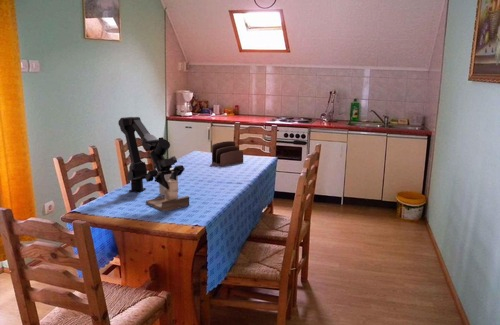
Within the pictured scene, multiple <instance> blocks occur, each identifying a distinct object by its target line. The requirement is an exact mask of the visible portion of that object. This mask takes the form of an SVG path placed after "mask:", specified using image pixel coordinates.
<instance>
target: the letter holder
mask: <svg viewBox="0 0 500 325" xmlns="http://www.w3.org/2000/svg"><path fill="white" fill-rule="evenodd" d="M240 163H244V151H243V150H240V147H239V146H237V145H236V142H235V141H232V140H228V141H221V142H216V143H214V144H212V145H211V164H212V165H216V166H220V167H224V166H229V165H233V164H240Z"/></svg>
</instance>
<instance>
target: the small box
mask: <svg viewBox="0 0 500 325" xmlns="http://www.w3.org/2000/svg"><path fill="white" fill-rule="evenodd" d="M172 169H174V167H172V168H170V170H172ZM164 178H165V180H167V179H169V178H170V175H169V174H167V175H164ZM158 184H159V183H158ZM177 185H178V186H179V177H178V176H177ZM158 189H159V195H161V196H165V188H164V186H162V185H161V184H159V185H158Z"/></svg>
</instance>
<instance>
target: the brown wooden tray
mask: <svg viewBox="0 0 500 325" xmlns="http://www.w3.org/2000/svg"><path fill="white" fill-rule="evenodd" d="M145 202H146V204H148V205H149V206H150V207H153V208H155V209H157V210H160V211H161V212H164V213H165V212H168V211H172V210H176V209H181V208H183V207H184V208H185V207H188V206H190V196H188V195H187V196H186V195H185V196H181V197H178V198H177V199H173V200H169V201H165V196H162V197H161V196H160V197H157V198H152V199H149V200H146V201H145Z"/></svg>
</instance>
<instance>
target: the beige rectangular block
mask: <svg viewBox="0 0 500 325" xmlns="http://www.w3.org/2000/svg"><path fill="white" fill-rule="evenodd" d="M166 182H167V184H168V186H169V189H166V188H165V187H164V188H165V195H164V197H165V201H169V200H173V199H177V198H179V197H178V196H179V194H178V193H179V184H178V185H177V181H176V180H174V179H167V180H166Z"/></svg>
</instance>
